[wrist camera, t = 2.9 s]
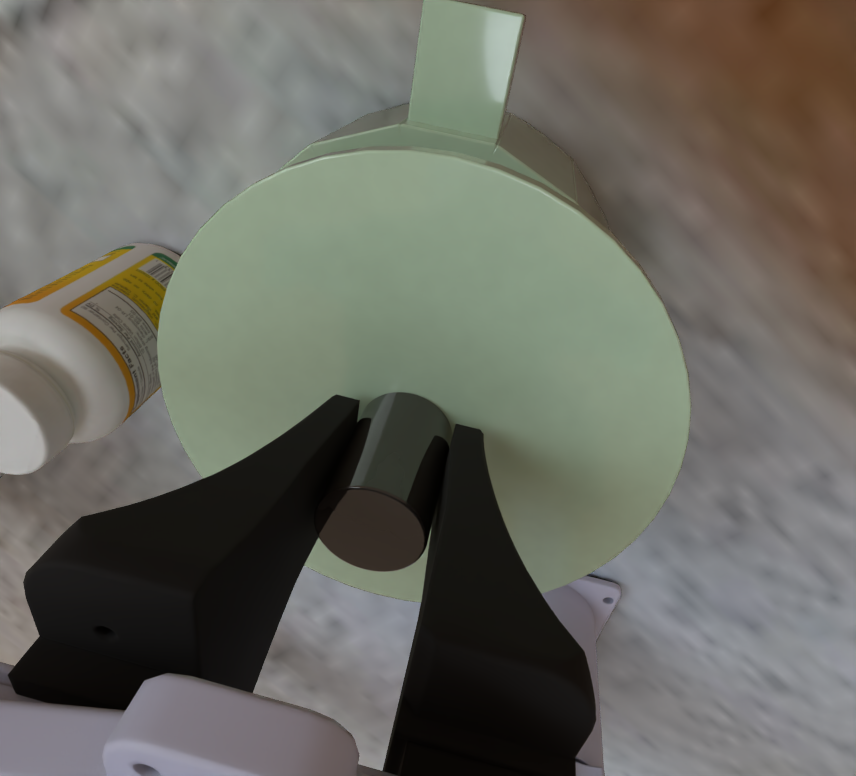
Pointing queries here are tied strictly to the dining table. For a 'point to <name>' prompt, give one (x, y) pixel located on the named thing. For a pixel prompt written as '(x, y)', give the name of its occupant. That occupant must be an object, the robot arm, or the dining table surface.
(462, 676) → the robot arm
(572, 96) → the dining table surface
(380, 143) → the pot
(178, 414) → the lid
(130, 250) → the supplement bottle
